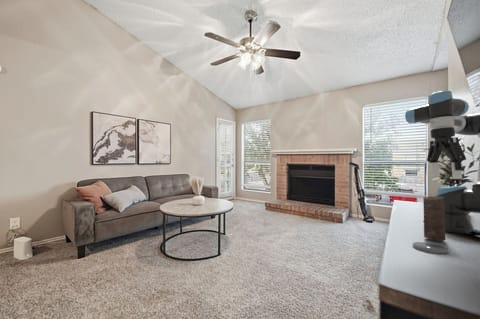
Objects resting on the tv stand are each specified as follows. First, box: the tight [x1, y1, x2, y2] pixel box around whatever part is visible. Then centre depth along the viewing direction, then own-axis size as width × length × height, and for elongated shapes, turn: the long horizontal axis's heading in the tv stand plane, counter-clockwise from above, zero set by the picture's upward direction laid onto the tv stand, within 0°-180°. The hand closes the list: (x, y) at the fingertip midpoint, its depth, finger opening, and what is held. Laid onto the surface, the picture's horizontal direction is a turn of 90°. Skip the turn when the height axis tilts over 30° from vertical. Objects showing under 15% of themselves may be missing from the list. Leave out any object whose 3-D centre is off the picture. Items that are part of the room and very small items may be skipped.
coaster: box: [412, 241, 449, 255], centre depth 89 cm, size 11×11×1 cm
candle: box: [422, 195, 446, 242], centre depth 100 cm, size 8×7×20 cm
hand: (445, 177), depth 93 cm, fingers open, 13 cm apart
